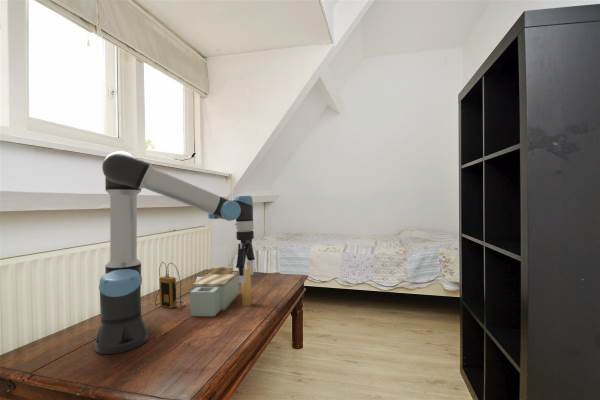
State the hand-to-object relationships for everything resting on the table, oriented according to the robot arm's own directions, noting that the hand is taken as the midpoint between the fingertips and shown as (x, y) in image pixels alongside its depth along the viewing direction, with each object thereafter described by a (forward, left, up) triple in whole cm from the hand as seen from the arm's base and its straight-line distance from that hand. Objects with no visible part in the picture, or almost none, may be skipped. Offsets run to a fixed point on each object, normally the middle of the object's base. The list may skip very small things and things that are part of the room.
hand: (246, 278), depth 134 cm
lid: (-15, +4, -2) cm, 16 cm away
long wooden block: (0, 0, -12) cm, 12 cm away
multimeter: (-34, +1, -12) cm, 36 cm away
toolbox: (-15, 0, -12) cm, 19 cm away
